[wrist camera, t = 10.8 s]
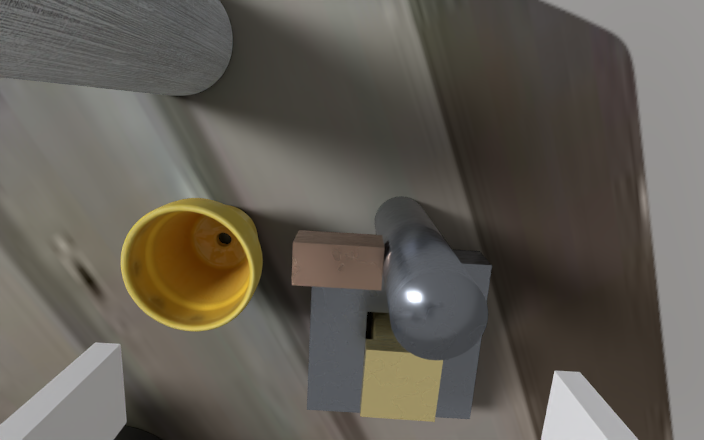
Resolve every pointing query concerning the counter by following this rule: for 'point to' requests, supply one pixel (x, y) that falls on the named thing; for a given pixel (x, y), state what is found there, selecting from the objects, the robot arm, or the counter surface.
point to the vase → (117, 43)
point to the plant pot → (192, 264)
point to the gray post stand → (392, 304)
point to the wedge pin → (397, 377)
